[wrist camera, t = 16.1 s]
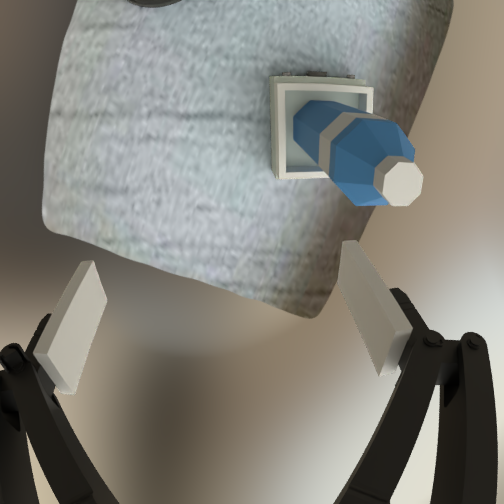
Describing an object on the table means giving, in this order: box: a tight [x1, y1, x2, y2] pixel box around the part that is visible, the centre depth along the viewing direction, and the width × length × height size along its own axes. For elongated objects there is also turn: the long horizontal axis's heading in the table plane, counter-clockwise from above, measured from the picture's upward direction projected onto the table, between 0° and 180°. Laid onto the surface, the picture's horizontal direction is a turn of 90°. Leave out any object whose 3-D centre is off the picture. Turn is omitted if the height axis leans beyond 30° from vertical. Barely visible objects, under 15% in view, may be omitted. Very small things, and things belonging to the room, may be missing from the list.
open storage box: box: [269, 71, 373, 180], centre depth 46 cm, size 17×14×8 cm
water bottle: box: [293, 100, 423, 206], centre depth 35 cm, size 9×9×25 cm
